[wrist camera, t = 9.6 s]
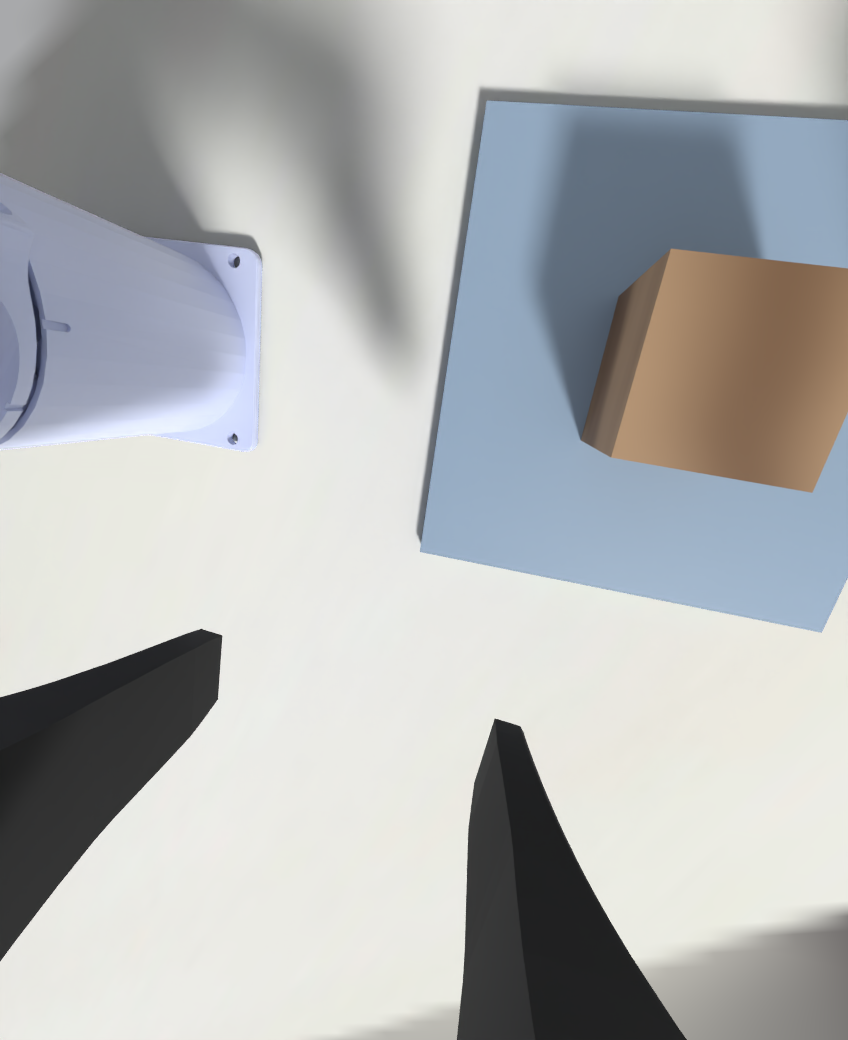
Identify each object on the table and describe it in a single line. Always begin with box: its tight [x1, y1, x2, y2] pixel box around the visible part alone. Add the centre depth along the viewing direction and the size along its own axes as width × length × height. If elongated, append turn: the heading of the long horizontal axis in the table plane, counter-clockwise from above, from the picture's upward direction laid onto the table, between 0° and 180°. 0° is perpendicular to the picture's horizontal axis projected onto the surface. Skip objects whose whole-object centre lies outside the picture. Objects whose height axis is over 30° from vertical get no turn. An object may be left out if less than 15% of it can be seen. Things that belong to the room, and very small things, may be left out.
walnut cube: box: [581, 249, 848, 493], centre depth 13 cm, size 5×5×5 cm
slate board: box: [420, 101, 848, 633], centre depth 16 cm, size 16×16×1 cm
